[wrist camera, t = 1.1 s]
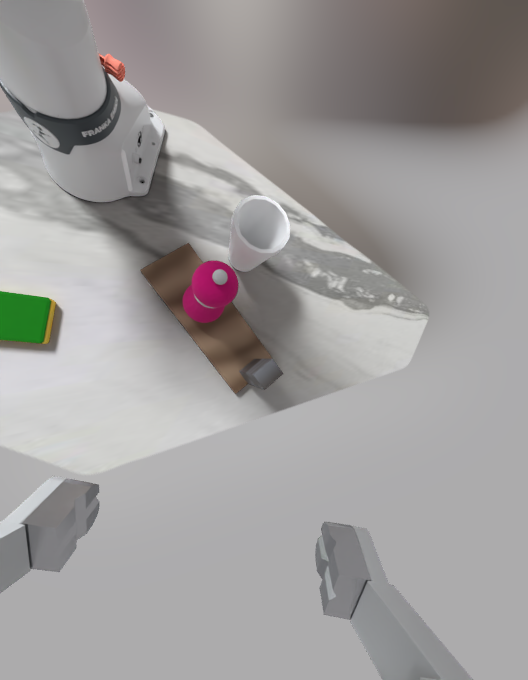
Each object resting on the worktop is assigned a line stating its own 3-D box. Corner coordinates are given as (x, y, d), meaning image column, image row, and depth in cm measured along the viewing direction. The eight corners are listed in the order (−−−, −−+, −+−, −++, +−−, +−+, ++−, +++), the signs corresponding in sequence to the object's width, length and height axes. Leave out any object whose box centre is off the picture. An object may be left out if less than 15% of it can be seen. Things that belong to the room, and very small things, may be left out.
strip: (141, 272, 44) (128, 244, 33) (188, 246, 47) (190, 212, 36) (234, 392, 48) (249, 402, 37) (271, 361, 51) (296, 361, 40)
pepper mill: (227, 307, 49) (263, 278, 30) (202, 333, 47) (222, 318, 28) (200, 280, 47) (220, 231, 28) (172, 305, 45) (174, 270, 26)
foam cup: (249, 227, 52) (271, 186, 39) (272, 266, 53) (300, 238, 40) (211, 246, 49) (221, 208, 36) (236, 286, 50) (254, 263, 37)
